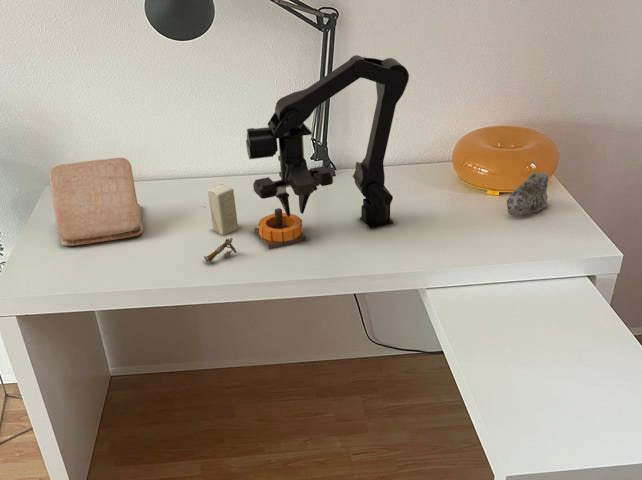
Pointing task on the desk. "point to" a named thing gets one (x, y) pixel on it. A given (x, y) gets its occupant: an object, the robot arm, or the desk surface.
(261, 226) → the orange ring
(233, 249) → the wooden post with brackets
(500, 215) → the desk surface
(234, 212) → the box
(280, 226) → the brown peg stand
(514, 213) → the mineral rock
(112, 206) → the case
